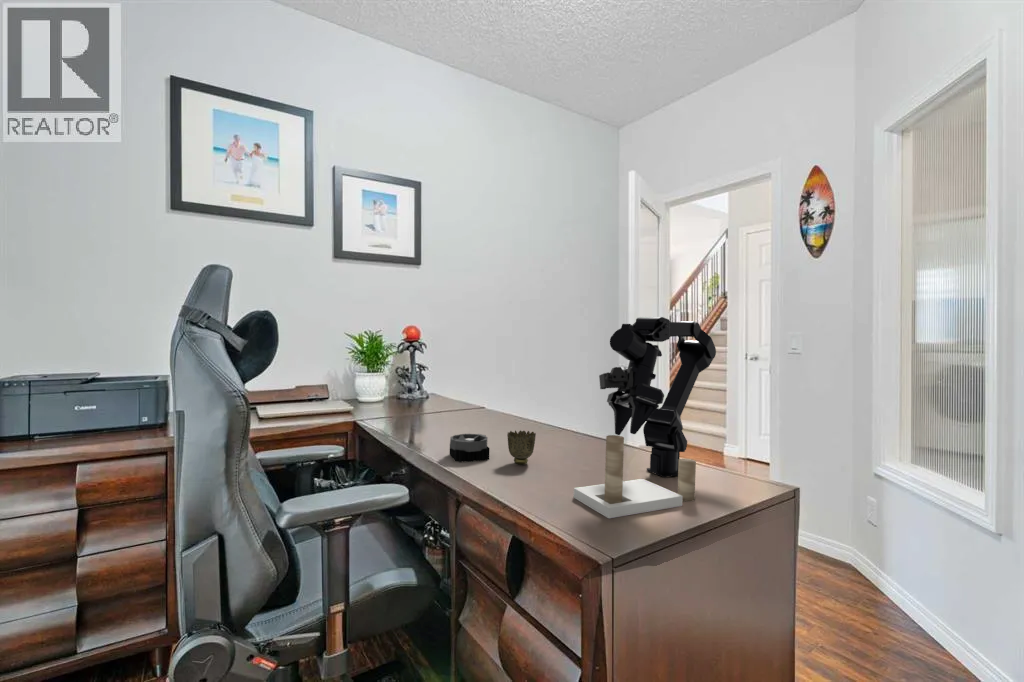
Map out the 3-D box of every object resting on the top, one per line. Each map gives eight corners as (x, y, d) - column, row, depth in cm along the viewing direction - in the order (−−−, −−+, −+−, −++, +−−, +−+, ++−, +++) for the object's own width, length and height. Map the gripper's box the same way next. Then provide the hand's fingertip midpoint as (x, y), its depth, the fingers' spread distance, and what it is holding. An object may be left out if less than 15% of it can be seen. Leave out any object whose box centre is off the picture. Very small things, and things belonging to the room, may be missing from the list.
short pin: (686, 495, 103) (687, 457, 103) (698, 500, 100) (699, 461, 100) (673, 496, 102) (675, 459, 102) (685, 502, 99) (687, 463, 99)
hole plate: (642, 487, 107) (642, 478, 107) (682, 505, 97) (682, 495, 96) (573, 497, 100) (573, 488, 100) (608, 518, 89) (608, 507, 89)
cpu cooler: (454, 442, 123) (446, 433, 133) (454, 464, 123) (446, 454, 133) (493, 440, 126) (482, 432, 136) (492, 461, 127) (482, 452, 136)
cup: (508, 458, 129) (509, 429, 129) (536, 460, 128) (536, 430, 128) (504, 466, 121) (505, 435, 121) (533, 468, 120) (534, 436, 120)
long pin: (609, 503, 97) (611, 434, 96) (624, 507, 95) (626, 437, 94) (601, 508, 94) (603, 437, 94) (617, 512, 92) (619, 439, 92)
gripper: (595, 363, 119) (578, 424, 115) (623, 348, 101) (604, 420, 97) (637, 377, 119) (622, 439, 116) (672, 365, 101) (655, 438, 97)
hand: (624, 434), depth 106 cm, fingers open, 9 cm apart
